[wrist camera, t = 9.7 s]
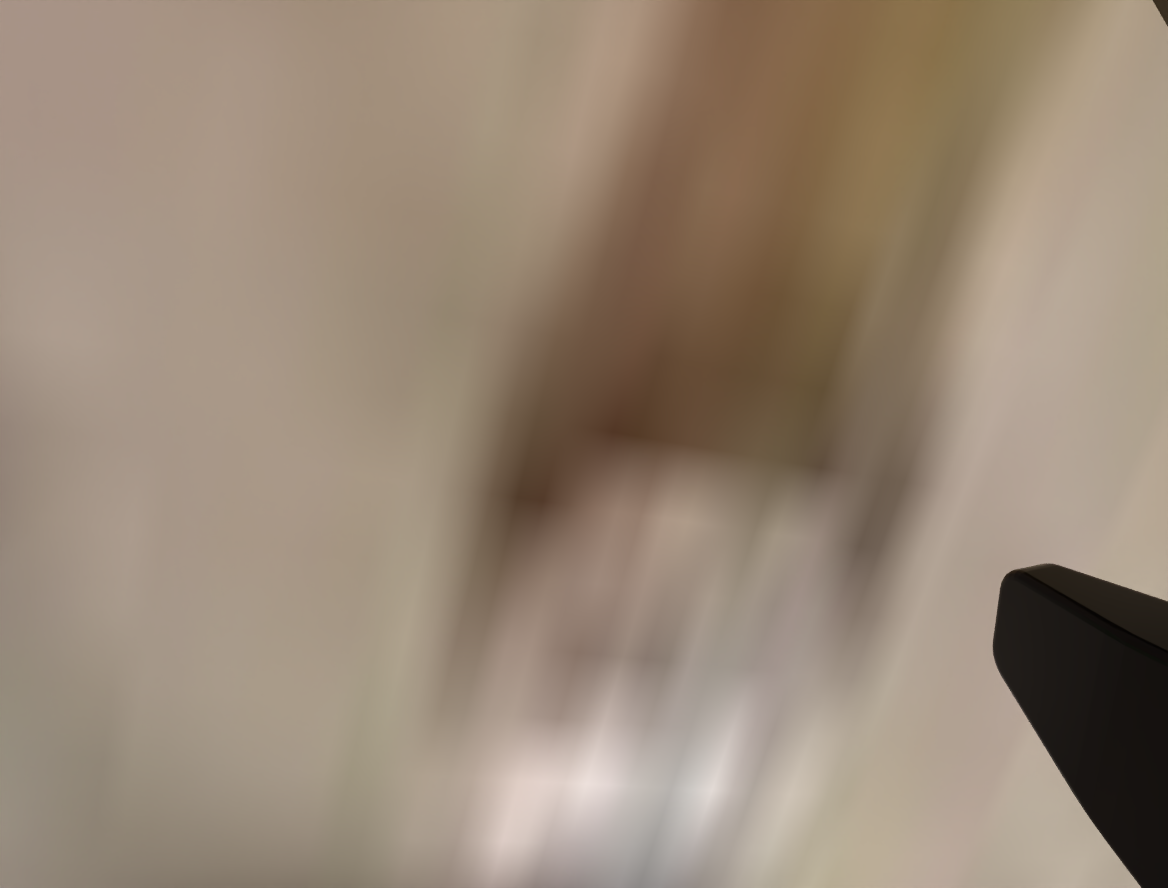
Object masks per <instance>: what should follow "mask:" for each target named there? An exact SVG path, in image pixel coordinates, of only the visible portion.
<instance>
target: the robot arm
mask: <svg viewBox="0 0 1168 888" xmlns="http://www.w3.org/2000/svg"><path fill="white" fill-rule="evenodd" d="M1153 2H1154V3H1155V5H1156V7H1157V9H1158V10H1159V12H1160V14H1161V16H1162V17H1163V19H1164V21H1165V22H1166V24H1167V26H1168V0H1153ZM993 655H994V659H995V663H996V666H997V668H998V670H999V672H1000V674H1001V676H1002V678H1003V679H1004V681H1005V683H1006V684H1007V686H1008V688H1009V689H1010V691H1011V692H1012V694H1013V696H1014V697H1015V699H1016V701H1017V702H1018V704H1019V705H1020V707H1021V709H1022V710H1023V712H1024V714H1025V715H1026V717H1027V719H1028V720H1029V722H1030V723H1031V725H1032V727H1033V728H1034V730H1035V732H1036V733H1037V735H1038V736H1039V738H1040V740H1041V741H1042V743H1043V745H1044V746H1045V748H1046V750H1047V751H1048V753H1049V754H1050V756H1051V758H1052V759H1053V761H1054V763H1055V764H1056V766H1057V767H1058V769H1059V771H1060V772H1061V774H1062V776H1063V777H1064V779H1065V781H1066V782H1067V784H1068V785H1069V787H1070V789H1071V790H1072V792H1073V793H1074V795H1075V797H1076V798H1077V800H1078V801H1079V803H1080V804H1081V806H1082V807H1083V809H1084V810H1085V812H1086V813H1087V815H1088V816H1089V818H1090V819H1091V821H1092V822H1093V823H1094V825H1095V826H1096V828H1097V829H1098V830H1099V832H1100V833H1101V834H1102V836H1103V837H1104V839H1105V840H1106V841H1107V843H1108V844H1109V845H1110V847H1111V848H1112V849H1113V851H1114V852H1115V853H1116V855H1117V856H1118V857H1119V859H1120V860H1121V861H1122V863H1123V864H1124V865H1125V867H1126V868H1127V869H1128V871H1129V872H1130V873H1131V875H1132V876H1133V877H1134V878H1135V880H1136V881H1137V882H1138V884H1139V885H1140V886H1141V888H1168V601H1165V600H1162V599H1159V598H1156V597H1153V596H1150V595H1147V594H1144V593H1141V592H1138V591H1135V590H1132V589H1129V588H1126V587H1123V586H1120V585H1117V584H1114V583H1111V582H1108V581H1105V580H1102V579H1099V578H1096V577H1093V576H1090V575H1087V574H1084V573H1081V572H1077V571H1074V570H1071V569H1068V568H1065V567H1062V566H1059V565H1056V564H1040V565H1035V566H1031V567H1026V568H1021V569H1016V570H1013V571H1011V572H1009V573H1008V574H1006V576H1005V577H1004V579H1003V581H1002V583H1001V587H1000V594H999V601H998V609H997V616H996V623H995V631H994V638H993Z"/></svg>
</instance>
